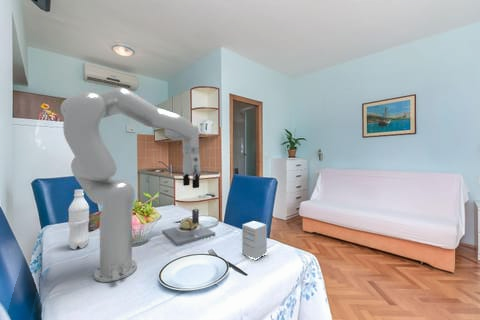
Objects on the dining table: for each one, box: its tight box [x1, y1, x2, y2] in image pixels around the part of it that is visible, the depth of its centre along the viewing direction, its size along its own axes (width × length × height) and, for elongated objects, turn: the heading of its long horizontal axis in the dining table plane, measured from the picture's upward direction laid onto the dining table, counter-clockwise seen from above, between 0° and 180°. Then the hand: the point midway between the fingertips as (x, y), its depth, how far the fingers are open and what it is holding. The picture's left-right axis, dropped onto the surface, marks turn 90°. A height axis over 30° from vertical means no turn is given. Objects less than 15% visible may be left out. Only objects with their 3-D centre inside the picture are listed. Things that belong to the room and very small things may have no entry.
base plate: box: [161, 223, 216, 247], centre depth 105 cm, size 20×20×4 cm
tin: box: [88, 210, 102, 231], centre depth 114 cm, size 15×3×8 cm, turn 179°
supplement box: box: [241, 220, 268, 259], centre depth 83 cm, size 7×7×13 cm
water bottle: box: [67, 188, 90, 250], centre depth 89 cm, size 7×7×25 cm
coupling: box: [181, 208, 200, 231], centre depth 103 cm, size 14×7×12 cm, turn 38°
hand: (191, 186), depth 99 cm, fingers open, 9 cm apart
